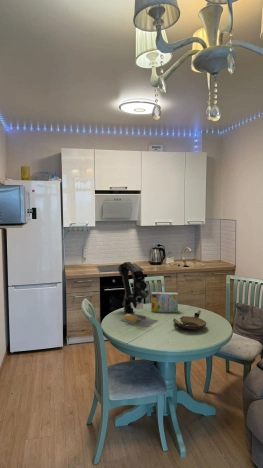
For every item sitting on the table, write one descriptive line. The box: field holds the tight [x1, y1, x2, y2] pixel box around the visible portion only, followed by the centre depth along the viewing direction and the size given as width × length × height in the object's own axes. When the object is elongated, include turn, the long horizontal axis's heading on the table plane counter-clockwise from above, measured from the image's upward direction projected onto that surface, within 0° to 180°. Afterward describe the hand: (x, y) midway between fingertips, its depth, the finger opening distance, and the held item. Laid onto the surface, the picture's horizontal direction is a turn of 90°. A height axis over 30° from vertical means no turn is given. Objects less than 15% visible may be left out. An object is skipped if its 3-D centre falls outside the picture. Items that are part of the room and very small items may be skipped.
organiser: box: [120, 313, 159, 328], centre depth 228 cm, size 23×16×3 cm
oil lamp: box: [172, 309, 207, 330], centre depth 220 cm, size 22×30×8 cm
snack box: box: [150, 291, 179, 313], centre depth 254 cm, size 21×6×15 cm, turn 84°
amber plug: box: [123, 313, 137, 322], centre depth 227 cm, size 4×9×4 cm, turn 55°
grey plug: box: [131, 302, 144, 311], centre depth 234 cm, size 4×9×4 cm, turn 55°
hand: (137, 307), depth 233 cm, fingers closed on grey plug, 4 cm apart
